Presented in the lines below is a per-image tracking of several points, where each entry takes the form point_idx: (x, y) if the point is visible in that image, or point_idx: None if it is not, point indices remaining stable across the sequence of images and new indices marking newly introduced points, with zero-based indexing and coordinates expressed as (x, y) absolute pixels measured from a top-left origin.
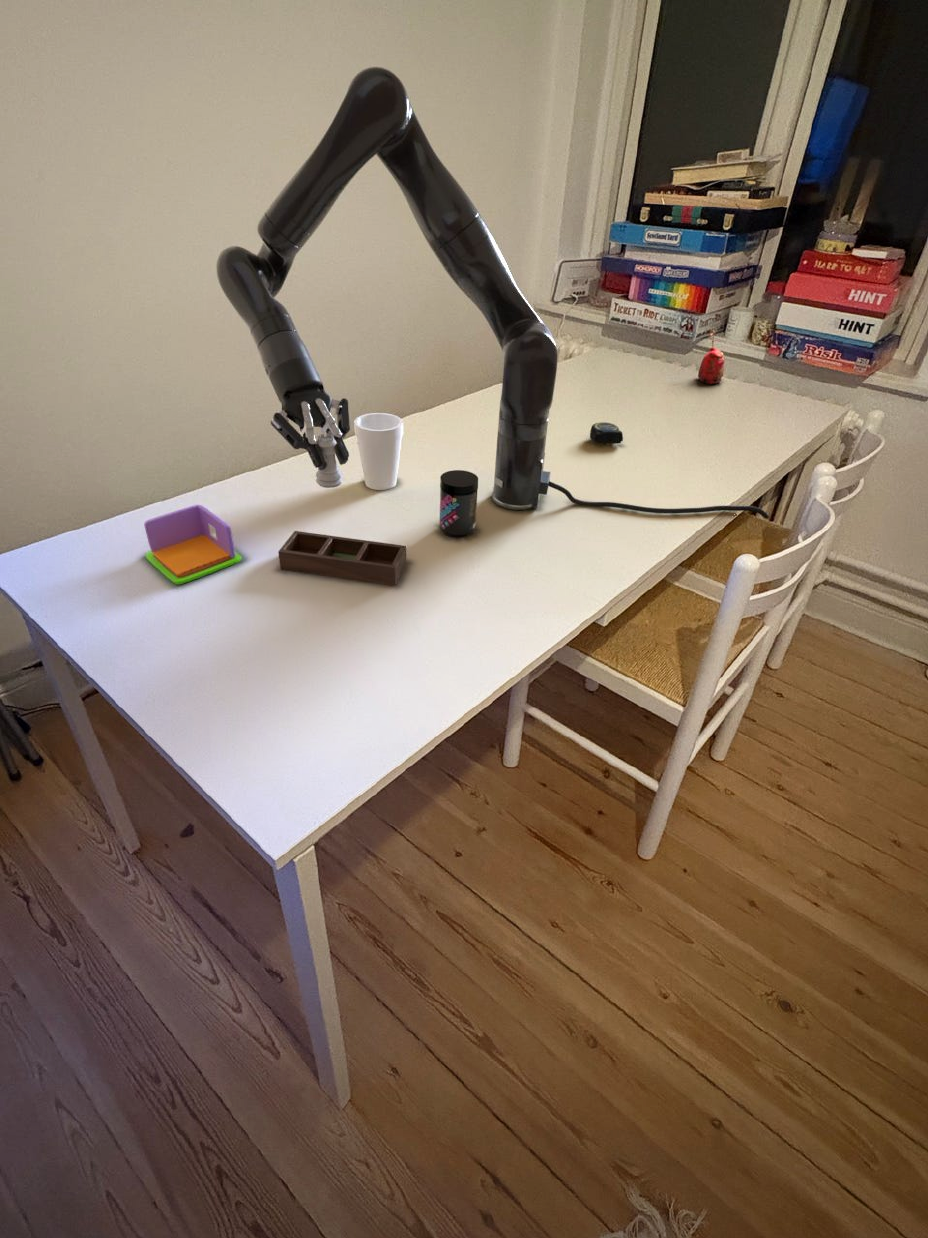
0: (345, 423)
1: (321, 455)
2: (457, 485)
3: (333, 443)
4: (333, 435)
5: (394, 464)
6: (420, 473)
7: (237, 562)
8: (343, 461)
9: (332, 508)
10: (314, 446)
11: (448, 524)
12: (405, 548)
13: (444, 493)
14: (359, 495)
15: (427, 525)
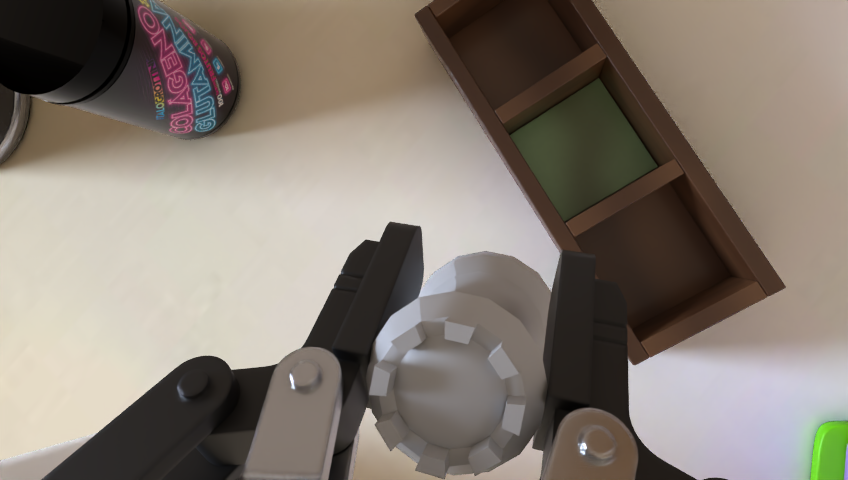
0: (156, 429)
1: (575, 303)
2: None
3: (433, 304)
4: (342, 410)
5: (78, 441)
6: (39, 421)
7: (843, 421)
8: (420, 242)
9: (367, 461)
10: (589, 396)
11: (217, 58)
12: (425, 7)
13: (139, 37)
14: None
15: (237, 168)
